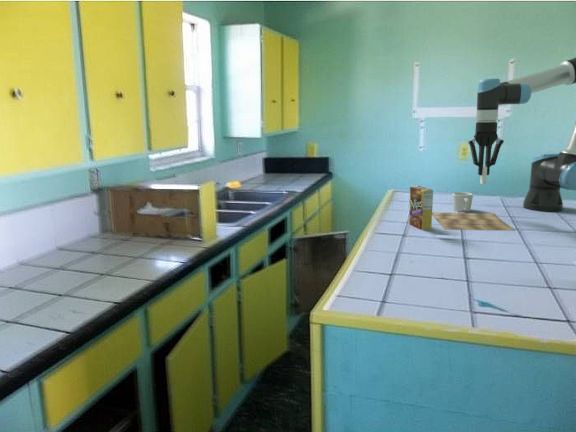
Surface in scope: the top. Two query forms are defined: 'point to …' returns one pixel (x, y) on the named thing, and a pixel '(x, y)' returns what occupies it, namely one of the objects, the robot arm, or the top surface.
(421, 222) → the candy box
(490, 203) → the top surface
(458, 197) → the cup
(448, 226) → the laid panel
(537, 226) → the top surface
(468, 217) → the plank
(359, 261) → the top surface
